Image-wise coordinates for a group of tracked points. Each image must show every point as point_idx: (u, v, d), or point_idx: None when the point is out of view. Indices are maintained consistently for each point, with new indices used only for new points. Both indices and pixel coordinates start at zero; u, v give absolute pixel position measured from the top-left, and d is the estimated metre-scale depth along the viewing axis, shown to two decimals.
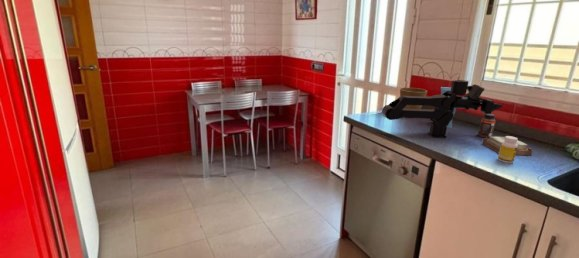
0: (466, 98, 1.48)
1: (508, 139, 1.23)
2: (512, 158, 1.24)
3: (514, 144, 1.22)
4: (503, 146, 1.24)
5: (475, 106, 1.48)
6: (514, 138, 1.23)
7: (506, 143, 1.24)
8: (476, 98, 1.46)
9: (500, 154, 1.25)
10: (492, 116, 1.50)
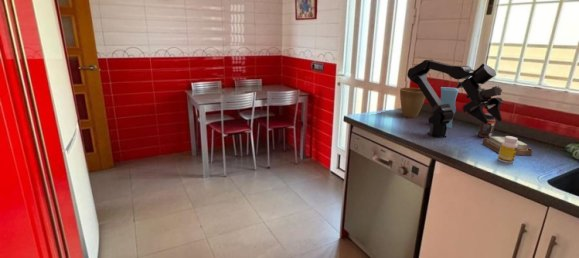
0: (476, 88, 1.33)
1: (508, 139, 1.23)
2: (512, 158, 1.24)
3: (514, 144, 1.22)
4: (503, 146, 1.24)
5: None
6: (514, 138, 1.23)
7: (506, 143, 1.24)
8: (479, 95, 1.31)
9: (500, 154, 1.25)
10: (492, 116, 1.50)
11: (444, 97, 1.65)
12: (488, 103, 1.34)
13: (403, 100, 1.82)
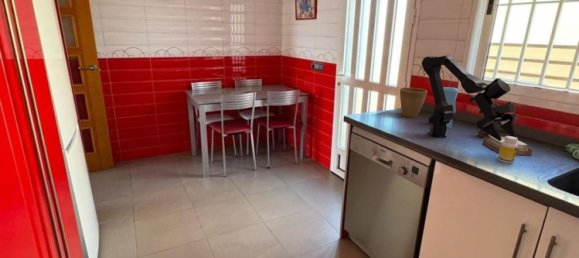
0: (490, 103, 1.28)
1: (508, 139, 1.23)
2: (512, 158, 1.24)
3: (514, 144, 1.22)
4: (503, 146, 1.24)
5: None
6: (514, 138, 1.23)
7: (506, 143, 1.24)
8: (493, 111, 1.26)
9: (500, 154, 1.25)
10: None
11: None
12: (501, 119, 1.29)
13: (403, 100, 1.82)
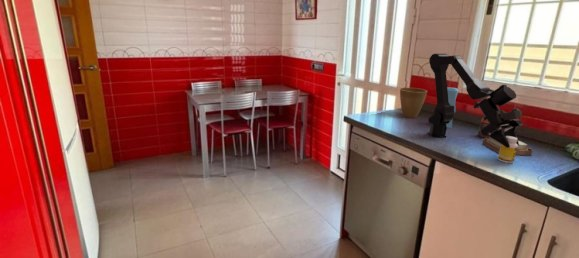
0: (495, 110, 1.27)
1: (508, 139, 1.23)
2: (512, 158, 1.24)
3: (514, 144, 1.22)
4: (503, 146, 1.24)
5: None
6: (514, 138, 1.23)
7: None
8: (498, 118, 1.24)
9: (500, 154, 1.25)
10: None
11: None
12: (507, 125, 1.28)
13: (403, 100, 1.82)
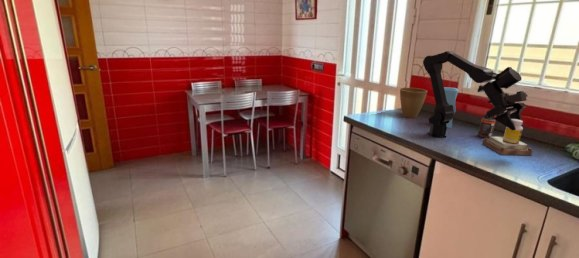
0: (500, 93, 1.26)
1: (514, 122, 1.22)
2: (517, 141, 1.23)
3: (519, 127, 1.22)
4: (508, 129, 1.24)
5: (496, 107, 1.27)
6: (519, 121, 1.22)
7: None
8: (504, 100, 1.24)
9: (506, 137, 1.25)
10: None
11: None
12: (511, 108, 1.27)
13: (403, 100, 1.82)
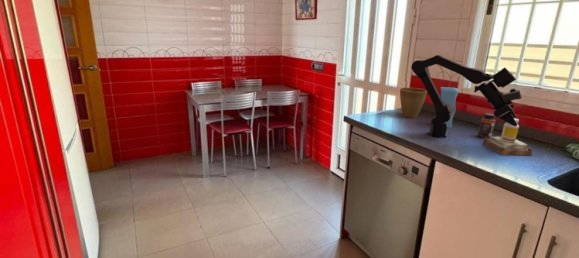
0: (498, 92, 1.35)
1: None
2: (515, 137, 1.36)
3: (517, 124, 1.34)
4: (508, 128, 1.35)
5: (496, 105, 1.35)
6: (516, 119, 1.35)
7: None
8: (504, 99, 1.33)
9: (506, 135, 1.36)
10: (492, 116, 1.50)
11: (444, 97, 1.65)
12: None
13: (403, 100, 1.82)
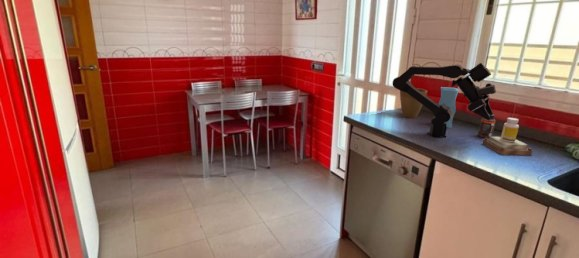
0: (474, 86, 1.39)
1: (512, 120, 1.34)
2: (515, 137, 1.36)
3: (517, 124, 1.34)
4: (508, 127, 1.35)
5: (471, 99, 1.40)
6: (515, 119, 1.35)
7: (511, 124, 1.34)
8: (479, 93, 1.38)
9: (506, 135, 1.36)
10: (492, 116, 1.50)
11: (444, 97, 1.65)
12: None
13: (403, 100, 1.82)
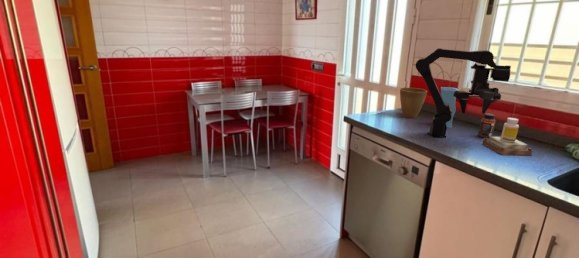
0: (480, 81, 1.38)
1: (512, 120, 1.34)
2: (515, 137, 1.36)
3: (517, 124, 1.34)
4: (508, 127, 1.35)
5: (471, 89, 1.43)
6: (515, 119, 1.35)
7: (511, 124, 1.34)
8: (475, 89, 1.39)
9: (506, 135, 1.36)
10: (492, 116, 1.50)
11: (444, 97, 1.65)
12: None
13: (403, 100, 1.82)
